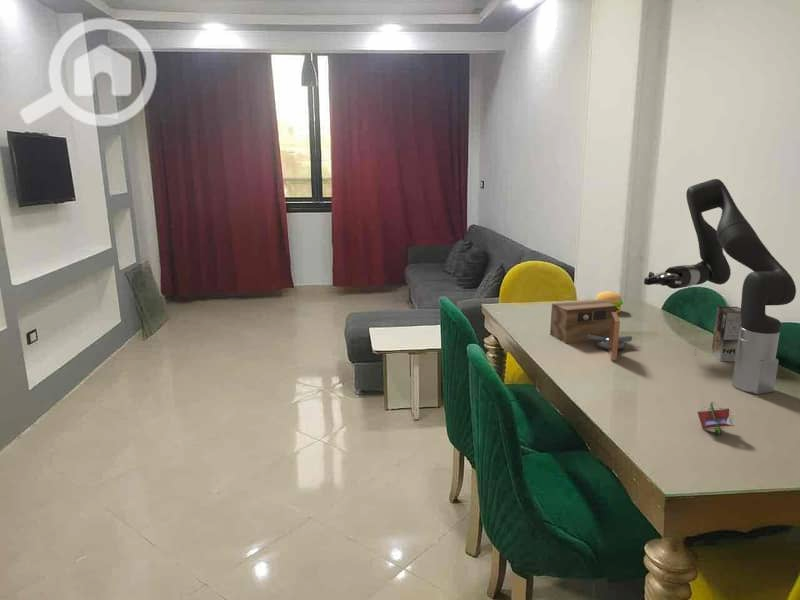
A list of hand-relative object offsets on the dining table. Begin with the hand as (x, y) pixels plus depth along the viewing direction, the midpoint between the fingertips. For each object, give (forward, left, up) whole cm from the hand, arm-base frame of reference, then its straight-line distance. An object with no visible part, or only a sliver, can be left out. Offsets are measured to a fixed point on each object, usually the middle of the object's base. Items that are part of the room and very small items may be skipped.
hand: (646, 281), depth 181 cm
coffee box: (-13, -23, -24) cm, 36 cm away
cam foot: (+2, +10, -24) cm, 26 cm away
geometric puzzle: (-53, +22, -24) cm, 63 cm away
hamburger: (+47, -22, -24) cm, 57 cm away
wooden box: (+20, +9, -24) cm, 32 cm away
